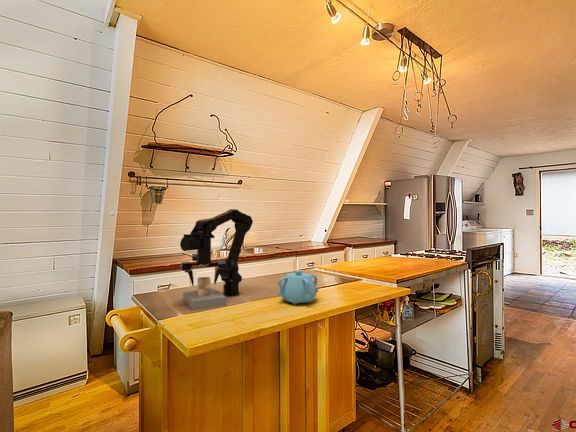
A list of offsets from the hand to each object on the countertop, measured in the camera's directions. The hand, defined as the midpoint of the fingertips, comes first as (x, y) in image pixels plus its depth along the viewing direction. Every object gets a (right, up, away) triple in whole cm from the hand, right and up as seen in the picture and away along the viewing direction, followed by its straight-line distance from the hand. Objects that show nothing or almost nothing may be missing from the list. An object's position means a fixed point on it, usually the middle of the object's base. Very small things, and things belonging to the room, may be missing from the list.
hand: (203, 285), depth 137 cm
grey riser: (0, -8, 0) cm, 8 cm away
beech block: (0, -4, 0) cm, 4 cm away
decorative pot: (+41, -8, +3) cm, 42 cm away
